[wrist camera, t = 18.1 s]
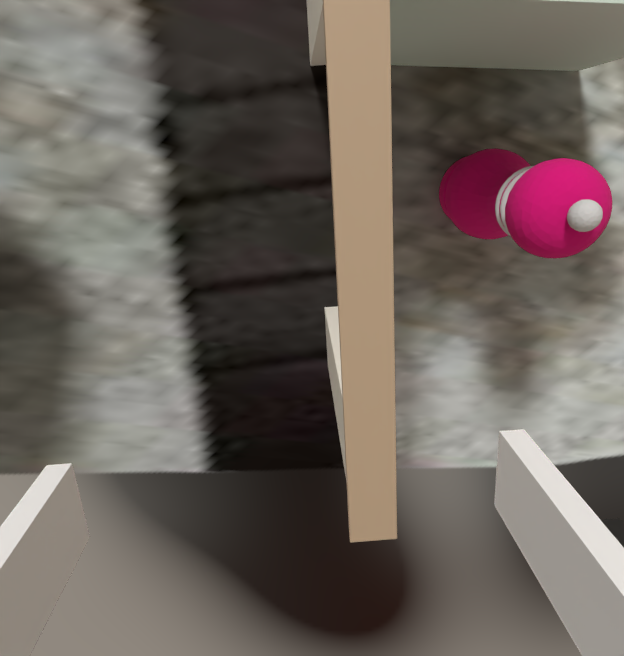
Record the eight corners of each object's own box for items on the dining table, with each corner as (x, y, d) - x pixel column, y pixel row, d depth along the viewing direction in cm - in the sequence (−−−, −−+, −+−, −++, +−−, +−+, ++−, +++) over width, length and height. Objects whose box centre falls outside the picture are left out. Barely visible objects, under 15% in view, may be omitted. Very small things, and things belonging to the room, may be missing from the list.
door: (577, 70, 44) (793, 9, 25) (339, 63, 43) (375, -6, 24) (583, 36, 43) (812, -55, 24) (340, 27, 42) (379, -74, 23)
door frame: (324, 367, 52) (350, 542, 29) (301, -22, 41) (311, -246, 18) (350, 366, 52) (397, 538, 29) (334, -24, 41) (386, -250, 18)
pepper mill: (467, 131, 45) (591, 117, 27) (529, 179, 47) (688, 198, 28) (417, 202, 47) (499, 236, 28) (478, 246, 49) (595, 306, 30)
